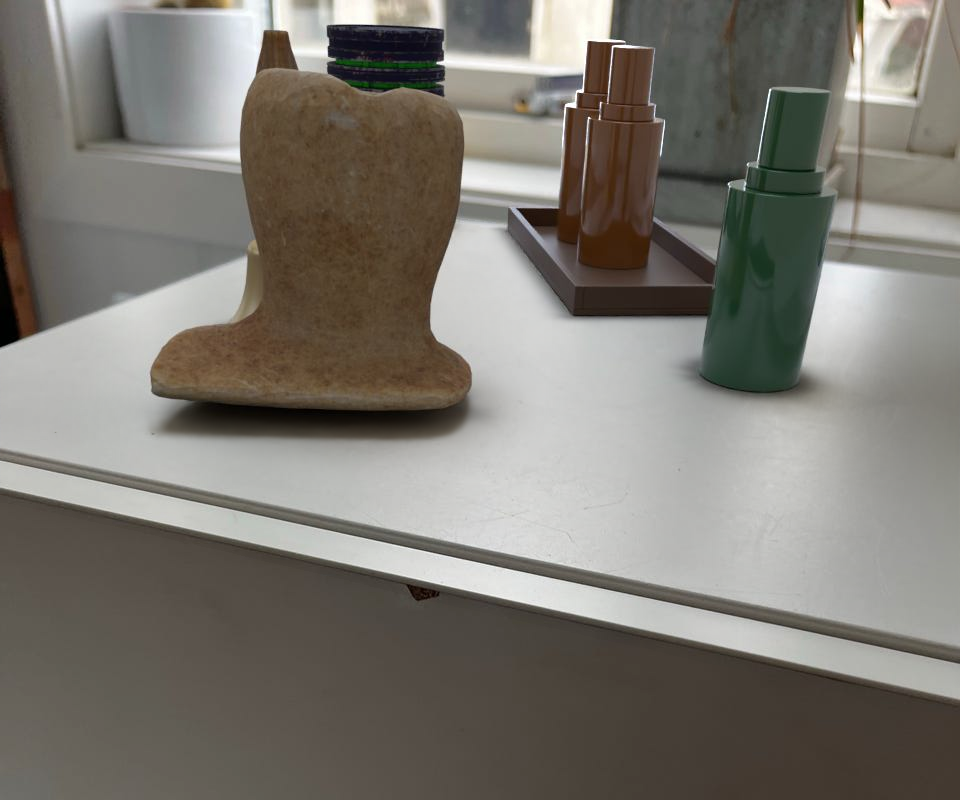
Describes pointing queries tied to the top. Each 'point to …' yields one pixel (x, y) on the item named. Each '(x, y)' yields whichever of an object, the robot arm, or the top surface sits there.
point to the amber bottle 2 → (621, 167)
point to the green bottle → (771, 251)
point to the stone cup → (336, 254)
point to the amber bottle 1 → (581, 135)
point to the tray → (617, 271)
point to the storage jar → (387, 57)
